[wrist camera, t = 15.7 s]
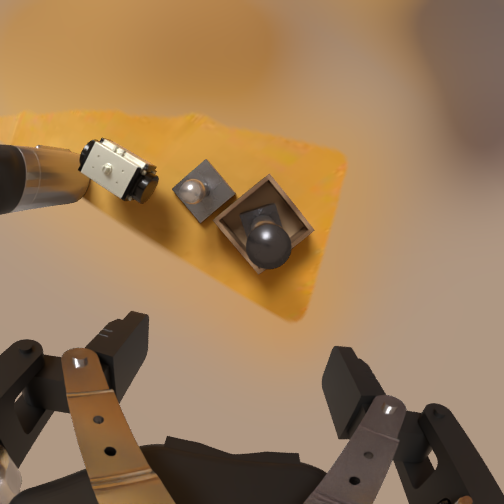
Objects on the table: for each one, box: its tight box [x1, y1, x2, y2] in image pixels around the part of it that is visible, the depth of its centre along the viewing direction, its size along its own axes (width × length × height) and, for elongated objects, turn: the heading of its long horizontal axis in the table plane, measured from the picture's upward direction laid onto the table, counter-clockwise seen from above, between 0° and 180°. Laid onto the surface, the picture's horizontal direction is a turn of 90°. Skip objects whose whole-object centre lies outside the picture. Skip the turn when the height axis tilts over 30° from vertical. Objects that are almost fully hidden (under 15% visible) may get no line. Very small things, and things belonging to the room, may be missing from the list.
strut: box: [239, 203, 292, 269], centre depth 36 cm, size 5×5×18 cm
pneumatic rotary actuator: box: [78, 138, 159, 204], centre depth 38 cm, size 6×12×12 cm, turn 58°
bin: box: [213, 174, 315, 274], centre depth 43 cm, size 10×10×5 cm
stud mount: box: [172, 159, 236, 223], centre depth 39 cm, size 7×7×11 cm
